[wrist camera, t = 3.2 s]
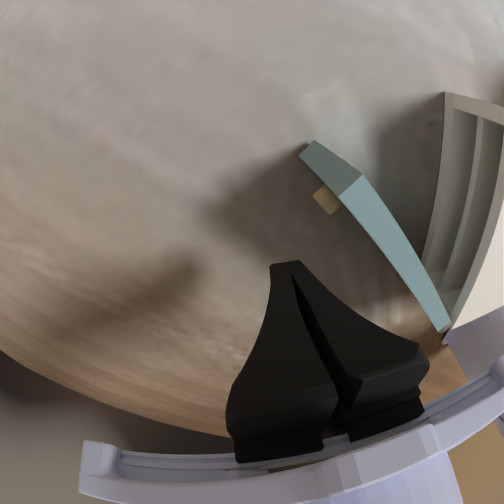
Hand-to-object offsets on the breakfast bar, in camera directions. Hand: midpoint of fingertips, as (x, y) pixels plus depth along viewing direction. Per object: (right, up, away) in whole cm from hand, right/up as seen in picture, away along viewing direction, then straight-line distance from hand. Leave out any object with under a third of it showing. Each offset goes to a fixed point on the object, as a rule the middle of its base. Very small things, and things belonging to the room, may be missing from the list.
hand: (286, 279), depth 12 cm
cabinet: (+15, +6, +4) cm, 17 cm away
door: (+6, +2, +5) cm, 8 cm away
